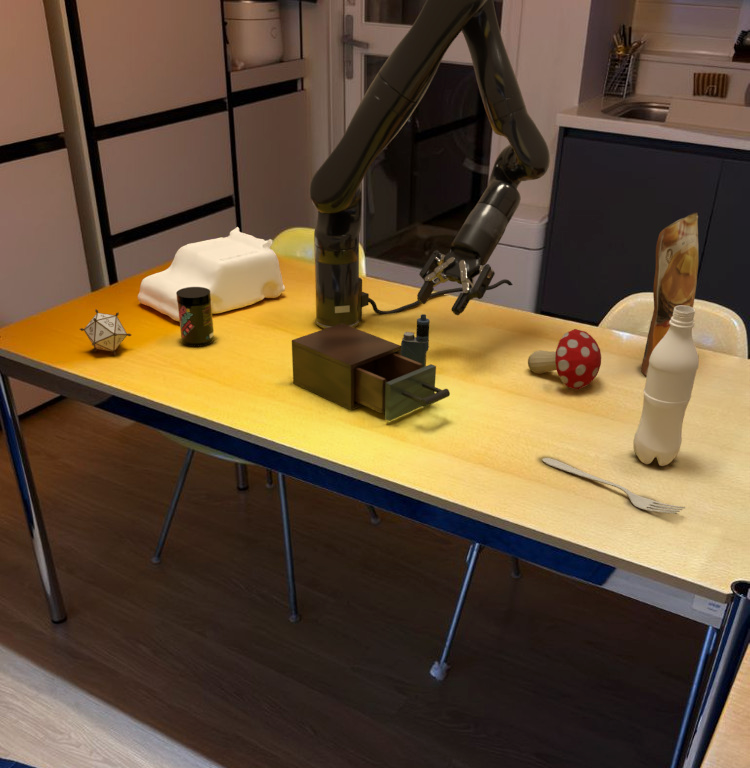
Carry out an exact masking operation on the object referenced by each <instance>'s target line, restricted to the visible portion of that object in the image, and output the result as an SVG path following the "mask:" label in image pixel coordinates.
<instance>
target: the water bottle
mask: <svg viewBox="0 0 750 768" xmlns="http://www.w3.org/2000/svg"><path fill="white" fill-rule="evenodd" d="M695 314H696V309H695V308H694V307H693V308H692V307H689V306H676V307H675V308H674V311H673V316H672V317H671V320H670V321H669V324H670V328H669V330H668V332H667V333H666V335H665V336H664V337H663V338H662V340H661V341H660V342H659V343H658V344H657V346H656V347H655V348H654V350H653V351H652V353H651V356H650V359H649V368H648V373H647V376H646V377H645V378H646V379H645V383H644V388H643V403H642V410H641V415H640V419H639V423H638V425H637V428H636V430H635V433H634V435H633V436H634V438H633V450H634V453H635V455H636V456H637V458H638V460H639V461H640V462H641V463H644V464H645V465H650V464H651V463H652V462H653V461H654V459H655V458H656V461H657V463H658V466H659V467H665V466H668V465H669V464H671V463H672V462H673V460H674V459H675V458H676V457H677V455H678V453H679V452H680V450H681V445H682V442H683V437H682V436H683V435H682V434H683V425H684V424H683V423H684V418H685V414H686V411H687V407H688V405H689V402H690V401H691V398H692V393H693V388H694V384H695V380H696V375H697V370H698V369H699V365H700V359H699V354H698V349H697V347H696V344H695V343H696V342H695V341H694V338H693V329H694V327H695V318H694V317H695Z"/></svg>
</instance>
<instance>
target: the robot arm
mask: <svg viewBox="0 0 750 768" xmlns="http://www.w3.org/2000/svg"><path fill="white" fill-rule="evenodd" d="M410 27H411V28H409V30H408V31H407V33H406V34H405V35H404V36H403V37H402V38H401V40H400V41H399V42H398V43H397V45H396V46H395V48H394V49H393V50H392V52H391V53H390V54H389V56H388V57H387V59H386V60H385V62H384V63H383V65H382V66H381V67H380V69H379V70H378V72H377V74H376V75H375V77H374V79H373V80H372V81H371V83H370V85H369V87H368V88H367V90H366V92H365V94H364V95H363V97H362V99H361V100H360V102H359V104H358V106H357V108H356V110H355V112H354V114H353V116H352V117H351V119H350V122H349V124H348V126H347V128H346V130H345V132H344V134H343V135H342V137H341V139H340V140H339V142H338V143H337V144H336V146H335V147H334V149H333V150H332V152H331V153H330V154H329V155H328V157H327V158H326V159H325V161H323V163H322V164H321V165H320V167H319V168H317V170H316V171H315V173H314V174H313V175H312V177H311V179H310V182H309V189H308V190H309V191H308V192H309V198H310V201H311V203H312V206H313V207H314V208H315V209H316V210H317V218H316V224H315V227H314V233H313V241H314V242H313V243H314V245H313V247H314V283H315V284H314V285H315V286H314V287H315V324H316V326H318V327H319V328H321V329H326V328H329V327H332V326H335V325H338V324H341V323H343V324H345V325H348V326H351V327H353V328H356V327H357V326H359V324H360V323H361V322H363V308H364V307H368V306H369V304H370V305H371V306H372V310H373V311H374V313H375V314H378V315H381V316H382V315H391V314H398V313H401V312H403V311H407V310H409V309H412V308H415V307H417V306H418V305H421V304H422V305H426V303H427V302H428V301H429V299H432V298H435V297H438V296H443V295H448V294H454V293H459V295H458V297H457V298H456V300H455V301H454V303H453V305H452V307H451V309H450V310H451V312H452V313H453V314H454V315H455V316H460V315H461V314H462V313H464V311H465V310H466V308H467V306H468V304H469V303H470V301H471V300H473V299H477V300H482V299H483V298H484V296H485V294H486V292H487V291H491V290H494V289H496V288H498V287H500V286H502V285H503V284H507V285H508V286H513V283H512V281H511V280H509V279H507V278H505V279H500V280H499V281H497V282H495V283H494V284H491V282H492V280H493V279H494V276H495V274H496V272H495V270H494V269H493V268H492V267H491V264H489V263H488V261H489V260H490V258H491V256H492V255H493V253H494V252H495V250H496V248H497V246H498V245H499V243H500V241H501V239H502V238H503V236H504V233H505V232H506V229H507V227H508V225H509V223H510V221H511V220H512V218H513V216H514V215H515V214H516V211H517V210H518V208H519V206H520V203H521V194H520V193H521V192H520V191H519V190H518V188H519V185H520V184H521V183H522V182H527V181H535V180H538V179H541V178H543V177H544V176H545V175H546V174H547V172H548V170H549V167H550V161H551V156H550V150H549V146H548V144H547V142H546V139H545V137H544V136H543V135H542V132H540V130H539V128H538V126H537V125H536V123H535V121H534V120H533V119H532V117H531V116H530V114H529V113H528V109H527V105H526V103H525V100H524V97H523V93H522V90H521V88H520V84H519V82H518V80H517V77H516V74H515V71H514V68H513V65H512V63H511V60H510V57H509V55H508V52H507V48H506V46H505V43H504V40H503V38H502V37H503V36H502V34H501V30H500V25H499V22H498V18H497V14H496V9H495V3H494V0H426V1H425V3H424V5H423V6H422V9H421V10H420V12H419V14H418V16H417V17H416V19H415V21H414V23H412V26H410ZM461 32H462V35H463V37H464V40H465V43H466V45H467V48H468V52H469V55H470V58H471V61H472V66H473V70H474V75H475V79H476V83H477V87H478V91H479V94H480V97H481V101H482V104H483V107H484V110H485V113H486V115H487V118H488V122H489V124H490V127H491V130H492V131H493V133H494V134H496V135H497V136H500V137H504V138H506V139H507V141H508V143H509V145H506V146H505V147H504V148H503V149H502V150H501V151H500V153H499V154H498V156H497V157H496V158H495V161H494V164H493V166H492V169H491V173H490V175H489V179H488V183H487V186H486V188H485V189H484V191H483V192H482V194H481V196H480V198H479V200H478V201H477V203H476V205H475V206H474V207H473V209H472V210H471V211H470V212H469V214H468V216H467V217H466V219H465V221H464V223H463V224H462V225H461V227H460V229H459V231H457V234H456V236H455V237H454V238H453V240H452V242H451V247H450V251H449V252H447V253H446V254H443V253H441V252H440V251H439V250H438V249H435V250H434V251H433V252H432V253H431V255H430V256H429V258H428V260H427V261H426V263H425V264H424V266H423V267H422V269H420V272H419V273H418V274H419V277H420V278H421V279H422V280H423V283H422V286H421V287H420V289H419V290H418V293H417V295H416V297H417V299H416V301H414V302H411V303H408V304H406V305H402V306H400V307H398V308H395V309H391V310H381V309H379V308H378V305H377V303H376V301H374V299H372V298H370V294H369V293H367V292H365V291H363V279H362V277H360V233H361V228H362V213H363V212H362V211H363V210H362V208H363V207H362V206H363V184H362V183H363V179H364V178H365V176H366V174H367V173H368V171H369V169H370V167H371V166H372V164H373V163H374V161H375V160H376V159H377V158H378V156H379V155H380V154H381V153H382V152H383V151H384V150H385V148H387V146H388V145H389V144H390V143H391V142H392V140H394V139H395V137H396V136H397V134H399V132H400V131H401V130H402V128H403V127H404V126H405V124H406V123H407V122H408V121H409V119H410V118H411V117H412V114H413V113H414V112H415V110H416V108H417V107H418V105H419V104H420V103H421V101H422V100H423V98H424V96H425V94H426V92H427V91H428V89H429V88H430V85H431V83H432V81H433V79H434V78H435V75H436V73H437V72H438V69H439V66H440V64H441V63H442V60H443V58H444V56H445V54H446V53H447V51H448V50H449V48H450V47H451V46H452V44H453V42H454V41H455V40H456V38H457V37H458V36H459V35H460V33H461ZM442 273H443V274H442ZM477 276H478V277H477ZM476 277H477V279H476V281H475V282H474V279H475V278H476ZM448 281H449V282H452V283H454V282H455V283H457V284H459V285H461V286H462V287H454V288H448V289H443V290H438V291H436V292H435V291H434V290H435V287H437V286H438V285H440V284H444V283H447V282H448ZM490 284H491V285H490ZM433 291H434V292H433Z"/></svg>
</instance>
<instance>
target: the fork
mask: <svg viewBox="0 0 750 768" xmlns="http://www.w3.org/2000/svg"><path fill="white" fill-rule="evenodd" d="M542 462H543V463H544V464H546V465H548V466H550V467H553V468H556V469H559V470H561V471H563V472H567V473H570V474H573V475H575V476H579V477H581V478H585V479H588V480H592V481H594V482H598V483H601V484H604V485H608V486H611V487H614V488H617V489H619V490H621V491H623V492H624V493H625V494H626V495H627V497H628V498H629V500H630V502H631V503H632V505H633V506H635V507H637V508H638V509H641V510H645V511H649V512H655V513H657V512H658V513H662V514H671V515H672V514H673V515H676V514H678V513H680V511H684V509H686V508H687V507H686V506H681V505H675V504H669V503H665V502H660V501H656V500H653V499H651V498H648V497H644V496H641V495H638V494H636V493H634V492H632V491H630V490H629V489H628V488H626V487H624V486H622V485H620V484H617V483H614V482H612V481H609V480H606V479H603V478H600V477H598V476H595V475H593V474H590V473H588V472H585V471H583V470H580V469H578V468H575V467H574V466H571V465H569V464H567V463H565V462H562V461H560V460H557V459H554V458H551V457H544V458H542Z"/></svg>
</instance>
